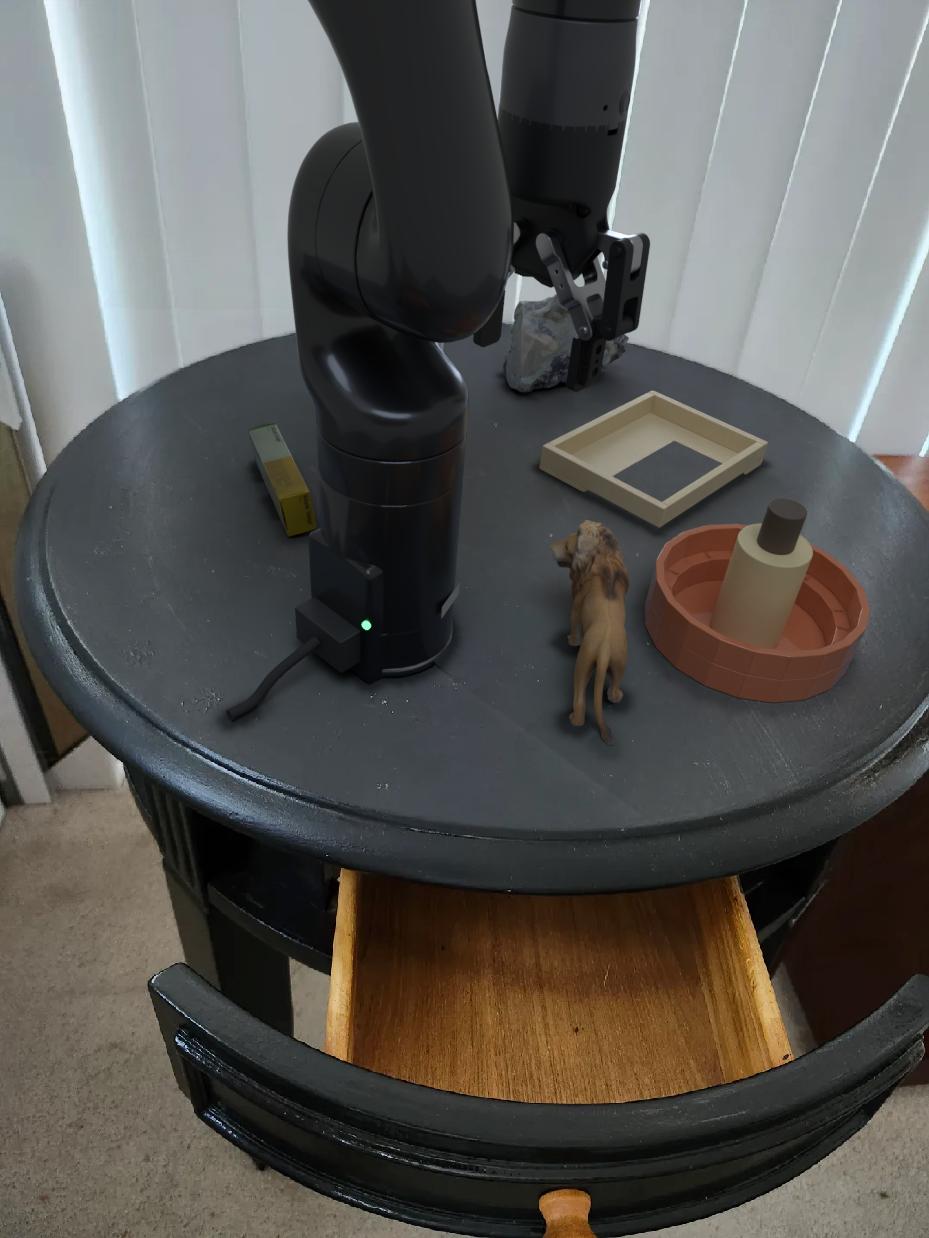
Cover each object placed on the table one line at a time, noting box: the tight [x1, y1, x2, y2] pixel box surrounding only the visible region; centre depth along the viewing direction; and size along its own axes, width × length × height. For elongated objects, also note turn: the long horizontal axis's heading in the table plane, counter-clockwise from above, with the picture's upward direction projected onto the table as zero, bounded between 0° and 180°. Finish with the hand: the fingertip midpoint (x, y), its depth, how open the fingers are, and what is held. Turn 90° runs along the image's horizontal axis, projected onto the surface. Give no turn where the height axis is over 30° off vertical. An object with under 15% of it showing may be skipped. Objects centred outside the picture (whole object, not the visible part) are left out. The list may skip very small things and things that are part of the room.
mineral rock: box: [502, 293, 630, 393], centre depth 97 cm, size 13×11×10 cm
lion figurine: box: [550, 519, 630, 746], centre depth 63 cm, size 15×5×9 cm, turn 6°
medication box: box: [248, 422, 318, 537], centre depth 78 cm, size 12×3×4 cm, turn 22°
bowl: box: [644, 523, 871, 704], centre depth 69 cm, size 15×15×5 cm
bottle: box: [711, 497, 813, 649], centre depth 66 cm, size 5×5×11 cm
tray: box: [538, 389, 769, 528], centre depth 87 cm, size 18×14×2 cm
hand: (531, 364), depth 64 cm, fingers open, 8 cm apart
